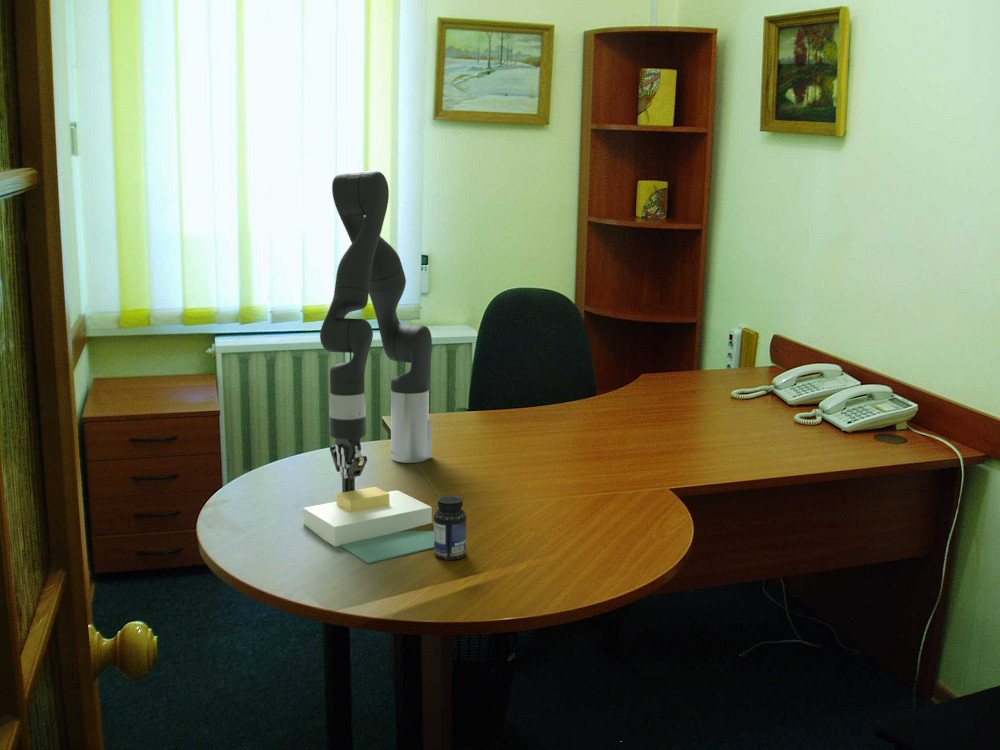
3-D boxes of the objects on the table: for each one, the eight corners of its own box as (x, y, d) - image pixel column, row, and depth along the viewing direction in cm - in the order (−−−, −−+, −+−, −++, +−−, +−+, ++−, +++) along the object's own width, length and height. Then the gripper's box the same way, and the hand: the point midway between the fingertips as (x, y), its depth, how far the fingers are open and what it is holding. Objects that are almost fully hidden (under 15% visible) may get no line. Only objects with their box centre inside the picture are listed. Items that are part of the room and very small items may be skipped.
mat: (428, 527, 196) (428, 525, 196) (458, 542, 187) (458, 541, 187) (340, 546, 184) (340, 544, 184) (367, 563, 176) (367, 562, 176)
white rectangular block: (397, 507, 208) (397, 490, 207) (431, 525, 197) (431, 507, 196) (303, 526, 195) (303, 507, 194) (334, 546, 184) (334, 526, 183)
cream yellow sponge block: (375, 497, 202) (375, 486, 201) (389, 504, 197) (389, 493, 197) (336, 504, 197) (336, 493, 196) (350, 512, 192) (350, 501, 191)
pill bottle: (466, 549, 184) (466, 494, 182) (466, 561, 178) (466, 504, 176) (434, 549, 184) (434, 494, 182) (433, 561, 178) (433, 504, 176)
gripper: (379, 417, 195) (379, 499, 198) (349, 406, 206) (350, 483, 209) (345, 422, 191) (346, 505, 194) (317, 410, 201) (318, 489, 205)
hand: (348, 494), depth 201 cm, fingers closed
